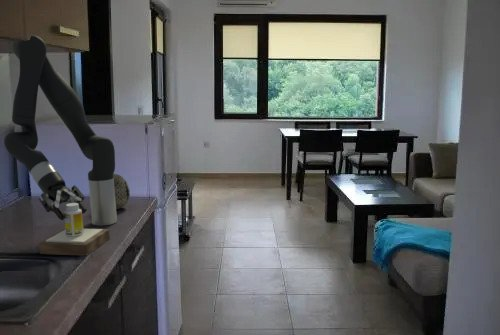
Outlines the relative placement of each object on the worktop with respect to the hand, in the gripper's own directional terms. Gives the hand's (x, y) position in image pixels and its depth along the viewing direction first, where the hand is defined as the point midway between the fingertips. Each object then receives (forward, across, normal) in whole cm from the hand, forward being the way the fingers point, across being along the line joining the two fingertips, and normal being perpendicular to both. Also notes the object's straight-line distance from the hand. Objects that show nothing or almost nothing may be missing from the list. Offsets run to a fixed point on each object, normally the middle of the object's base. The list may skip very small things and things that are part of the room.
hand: (74, 215), depth 159 cm
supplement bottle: (+4, 0, +5) cm, 7 cm away
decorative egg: (-8, +42, +24) cm, 49 cm away
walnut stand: (+7, 0, +8) cm, 11 cm away
